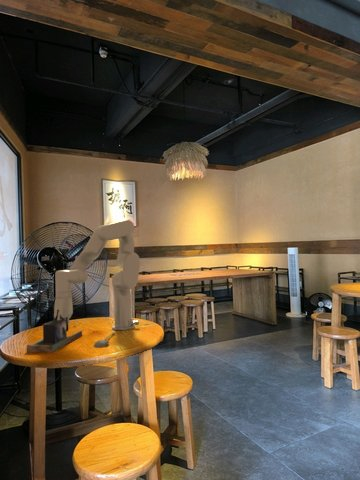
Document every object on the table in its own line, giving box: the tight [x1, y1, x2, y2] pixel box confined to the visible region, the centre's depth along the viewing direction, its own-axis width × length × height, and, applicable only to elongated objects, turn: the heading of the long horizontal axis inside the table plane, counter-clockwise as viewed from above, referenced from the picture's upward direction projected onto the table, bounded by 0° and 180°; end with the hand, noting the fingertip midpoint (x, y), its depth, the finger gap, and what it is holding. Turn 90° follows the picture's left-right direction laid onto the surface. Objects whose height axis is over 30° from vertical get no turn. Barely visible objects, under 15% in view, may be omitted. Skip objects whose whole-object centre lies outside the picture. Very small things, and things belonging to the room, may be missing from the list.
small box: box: [42, 319, 68, 345], centre depth 153 cm, size 11×6×10 cm, turn 169°
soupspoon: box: [93, 332, 116, 349], centre depth 154 cm, size 22×3×7 cm
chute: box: [26, 330, 83, 354], centre depth 153 cm, size 12×27×3 cm, turn 169°
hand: (64, 331), depth 161 cm, fingers closed
